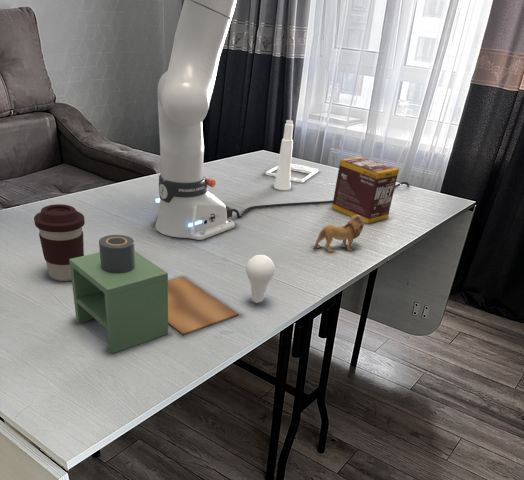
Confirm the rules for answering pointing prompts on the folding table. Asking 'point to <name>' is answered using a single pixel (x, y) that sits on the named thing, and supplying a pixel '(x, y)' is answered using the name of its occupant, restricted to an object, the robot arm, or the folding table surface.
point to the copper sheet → (193, 307)
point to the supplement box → (364, 188)
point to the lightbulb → (259, 275)
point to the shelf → (121, 299)
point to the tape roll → (117, 253)
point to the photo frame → (297, 168)
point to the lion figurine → (342, 233)
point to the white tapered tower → (285, 159)
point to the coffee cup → (60, 238)
